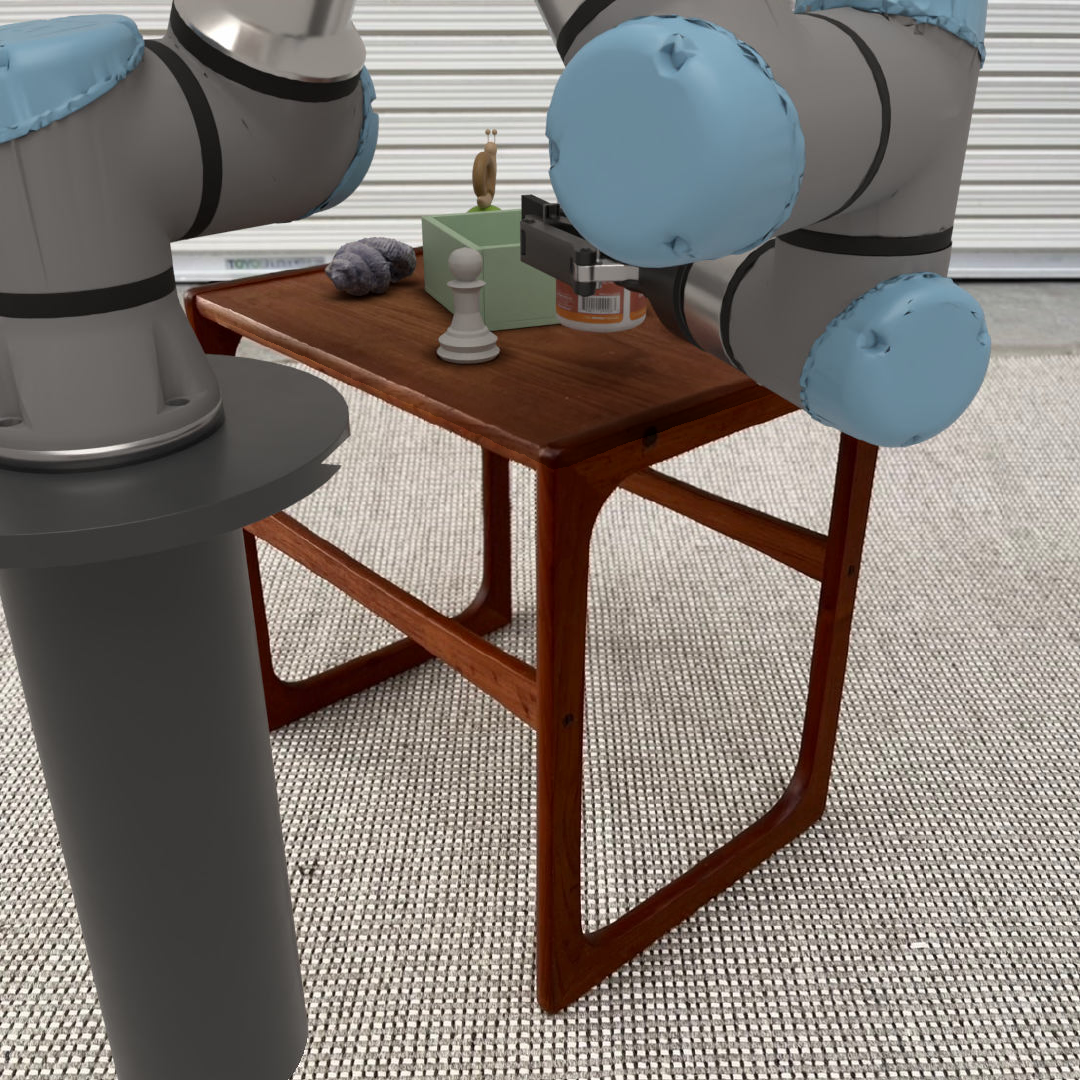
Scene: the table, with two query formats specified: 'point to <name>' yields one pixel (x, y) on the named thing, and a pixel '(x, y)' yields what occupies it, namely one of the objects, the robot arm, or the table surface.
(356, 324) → the table surface
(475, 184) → the snail figurine
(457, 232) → the bin
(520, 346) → the table surface
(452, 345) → the chess piece
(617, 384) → the table surface
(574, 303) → the pill bottle
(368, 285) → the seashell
